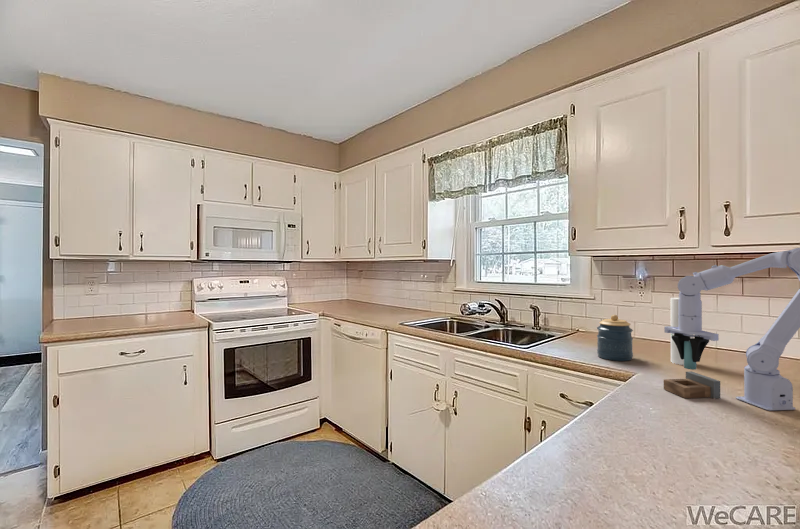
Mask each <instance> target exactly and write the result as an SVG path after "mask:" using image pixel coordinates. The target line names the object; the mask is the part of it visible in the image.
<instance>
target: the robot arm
mask: <svg viewBox="0 0 800 529" xmlns="http://www.w3.org/2000/svg"><path fill="white" fill-rule="evenodd" d="M769 268H776V269H777V268H779V269H780V268H781V269H787V268H789V269H790V270H792V272H794V274H796V277H797V279H798V281H799V282H800V247H795V248H792V249H789V250H788V249H787V250H782V251H778V252H772V253H771V252H770V253H768V254H765V255H762V256H759V257H757V258H754V259H751V260H747V261H744V262H742V263H739V264H736V265H733V266H727V265H723V264H721V265H717V264H714V265H712V266H711V268H708V269H705V270H702V271H699V272H697V271H695V272H692V274H693V276H692V275H685V276H684V277H681V278H680V279H679V281H678V283H677V289H678V291H679V293H678V298H679V300H678V327H671V326H669V325H668V326H664V329H663V330H664V333H666V334H669V333H670V334H671V333H673V334H674V336H672V339H673V341H674V342H675V344H676V346H677V348H678V351H679V354H680V358H681V359H684V341H689V340H690V343H691V347H692V360H693V362H696V363H700V362H701V358H702V355H703V352H704V350H705V348H706V347H707V345H708V344H709V343H710V341H712V342H717V341H719V339H720V338H719V336H720V335H719V333H715V332H711V331H707V330H706V331H705V330H703V316H702V315H703V311H702V310H703V301H702V299H701V297H702V295H701V291H706V292H707V291H711V290H714V289H717V288H720V287H724V286H726V285H731V284H733V282H734V281H735V278H737V277H741V276H744V275H748V274H751V273H755V272H759V271H762V270H765V269H769ZM799 329H800V288H799V289H798V290H797V291H796V293H795V294H794V295H793V297H792V298H791V299H790V301H789V302H788V304H786V306H785V307H784V309H783V310H782V311H781V313H779V315H778V317H777V318H776V319H775V321H774V322H773V323H772V325H771V326H770V328H769V329H768V330H767V331H766V333H765V334H764V335H763V336H762V337H761V338H760V339H759V340H758V342H757V343H755V344H752V345H750V346H749V347H747V349H746V350H745V351H746V352H745V356H746V363H747V364H746V365H745V366H744V367H743V368H744V369H743V371H744V372H743V375H744V376H743V382H744V383H743V384H744V386H743V387H744V388H743V392H744V394H743V395H744V396H735V399H736V400H739V401H742V402H745V403H747V404H750V405H752V406H756V407H758V408H761V409H763V410H766V411H793V410H796V407H794V405H793V403H794V402H793V401H794V399H793V397H794V395H793V394H794V393H793V392H794V391H793V390H794V389H793V388H794V387H793V384H792V382H791V381H790V380H789V378H787V377H784V376H782V374H781V372H780V370H779V369H778V367H779V364H780V357H781V356H782V354H784V351H785V350H786V349H785V348H786V347H787V345H788V343H789V342H790V341H791V339H792V338H793V337H794V336H795V334H796V333H797V332H798V331H799ZM684 333H685V334H684ZM690 334H693V335H690ZM690 337H693V338H690Z"/></svg>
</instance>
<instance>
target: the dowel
mask: <svg viewBox="0 0 800 529" xmlns="http://www.w3.org/2000/svg"><path fill="white" fill-rule="evenodd" d="M683 368H684V369H686V370H692V371H693V370H697V362H693V360H692V347H691V343H690V341H684V365H683Z"/></svg>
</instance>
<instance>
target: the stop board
mask: <svg viewBox="0 0 800 529" xmlns="http://www.w3.org/2000/svg"><path fill="white" fill-rule="evenodd" d="M685 379H690V380H693V381H696V382H699V383H701V384H704V385H707V386H709V387H711V397H710V399H713V398H720V399H721V380H718V379H716V378H711V377H709V376H706V375H703V374H700V373H698V372H694V371H693V370H692V371H685Z"/></svg>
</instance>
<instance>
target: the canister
mask: <svg viewBox="0 0 800 529" xmlns="http://www.w3.org/2000/svg"><path fill="white" fill-rule="evenodd" d="M598 323H599V325H598V326H597V327H596V328H597V330H598V332H597V333H598V334H597V335H596V337H597V339H596V340H597V345H596V346H597V347H596V348H597V349H596V350H597V351H596V353H597V357H599V358H600V359H604V360H608V359H609V361H617V362H627V361H628V362H629V361H631V360H633V357H634V353H633V340H634V338H633V337H632V336H633V335H632V332H634V330H633V328H631V327H630V326H631V323H629V322H628V321H627V320H625V319H619V316H618V315H617V314H612V315H611V316H610V318H604V319H602V320H601V321H599V322H598Z"/></svg>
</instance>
